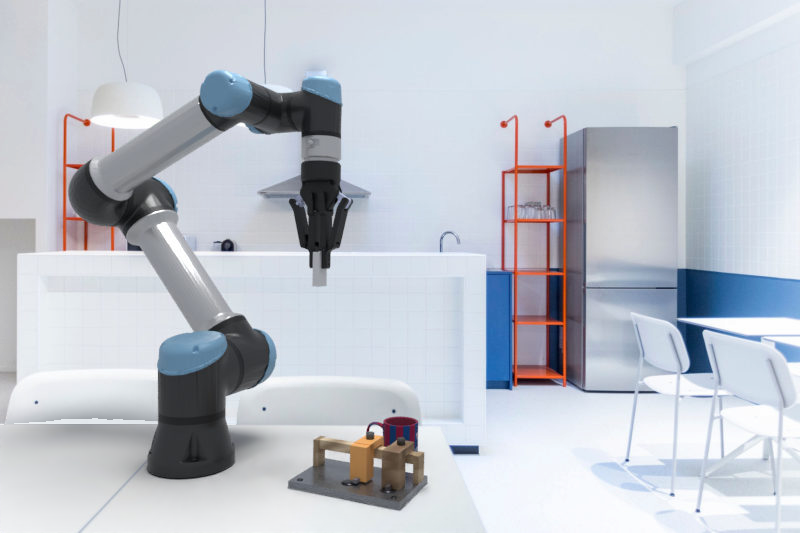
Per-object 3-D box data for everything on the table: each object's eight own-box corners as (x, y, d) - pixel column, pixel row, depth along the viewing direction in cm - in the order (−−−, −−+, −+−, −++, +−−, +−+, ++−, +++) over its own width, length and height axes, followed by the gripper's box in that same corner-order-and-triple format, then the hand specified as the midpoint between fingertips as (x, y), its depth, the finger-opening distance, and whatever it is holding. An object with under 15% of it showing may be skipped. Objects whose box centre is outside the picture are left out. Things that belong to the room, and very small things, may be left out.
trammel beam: (298, 474, 102) (298, 434, 102) (321, 460, 110) (321, 422, 109) (407, 495, 95) (408, 451, 94) (424, 478, 102) (425, 437, 101)
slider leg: (346, 481, 99) (347, 440, 99) (367, 466, 106) (368, 427, 106) (363, 484, 98) (363, 443, 97) (383, 468, 105) (384, 430, 105)
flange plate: (288, 487, 100) (288, 480, 100) (324, 464, 111) (325, 457, 111) (399, 510, 92) (399, 501, 92) (427, 482, 103) (427, 475, 103)
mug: (412, 464, 112) (413, 427, 112) (361, 458, 115) (362, 422, 114) (421, 452, 118) (421, 418, 118) (372, 447, 121) (373, 413, 121)
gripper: (280, 160, 114) (279, 285, 114) (341, 157, 108) (340, 288, 109) (302, 165, 120) (300, 284, 121) (360, 163, 115) (359, 286, 116)
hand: (319, 286), depth 115 cm, fingers closed
